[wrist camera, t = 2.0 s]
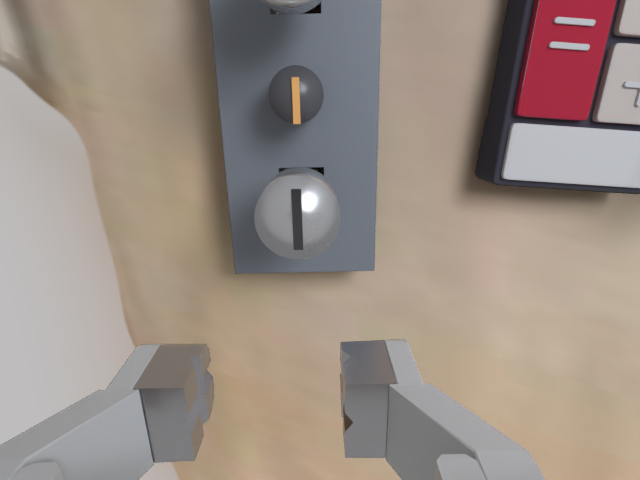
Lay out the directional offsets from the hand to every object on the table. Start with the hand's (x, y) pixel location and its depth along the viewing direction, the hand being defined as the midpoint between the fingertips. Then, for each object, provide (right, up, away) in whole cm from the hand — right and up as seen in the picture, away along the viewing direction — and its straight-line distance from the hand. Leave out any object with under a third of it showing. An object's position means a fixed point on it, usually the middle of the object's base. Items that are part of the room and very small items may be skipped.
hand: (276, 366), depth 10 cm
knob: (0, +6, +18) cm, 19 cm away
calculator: (+19, +15, +20) cm, 31 cm away
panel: (0, +13, +20) cm, 24 cm away
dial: (0, +12, +16) cm, 20 cm away
